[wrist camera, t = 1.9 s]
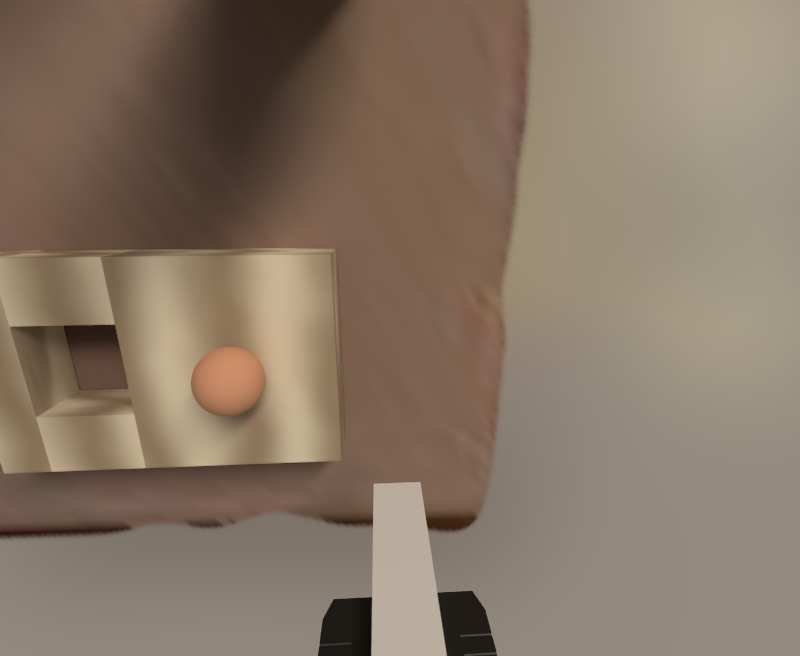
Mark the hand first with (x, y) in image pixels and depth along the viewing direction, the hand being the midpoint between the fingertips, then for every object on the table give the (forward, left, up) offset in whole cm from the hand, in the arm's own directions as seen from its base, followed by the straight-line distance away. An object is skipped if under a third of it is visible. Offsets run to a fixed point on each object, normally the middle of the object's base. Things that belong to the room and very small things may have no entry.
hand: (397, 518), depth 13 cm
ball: (-9, 0, -11) cm, 15 cm away
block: (-14, 0, -17) cm, 22 cm away
